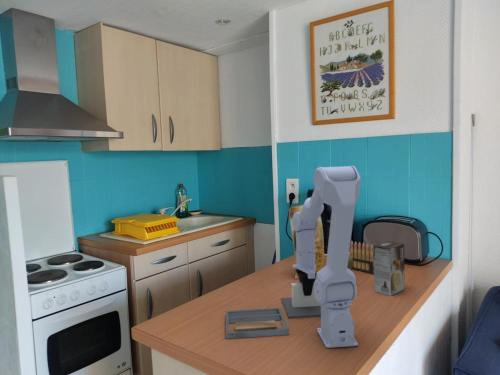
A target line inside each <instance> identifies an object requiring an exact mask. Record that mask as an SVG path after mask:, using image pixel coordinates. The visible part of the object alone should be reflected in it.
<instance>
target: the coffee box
mask: <svg viewBox="0 0 500 375" xmlns="http://www.w3.org/2000/svg"><path fill="white" fill-rule="evenodd" d="M373 249H374V274H373V275H374V276H373V277H374V292H375V293H376V292H377V293H379V294H383V295H387V296H389V297H391V296H393V295H396V294H397V293H399V292H401V291H403V290H405V243H401V242H400V243H399V242H394V241H393V242H392V241H385V242H382V243H379V244H375V245H373Z"/></svg>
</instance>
